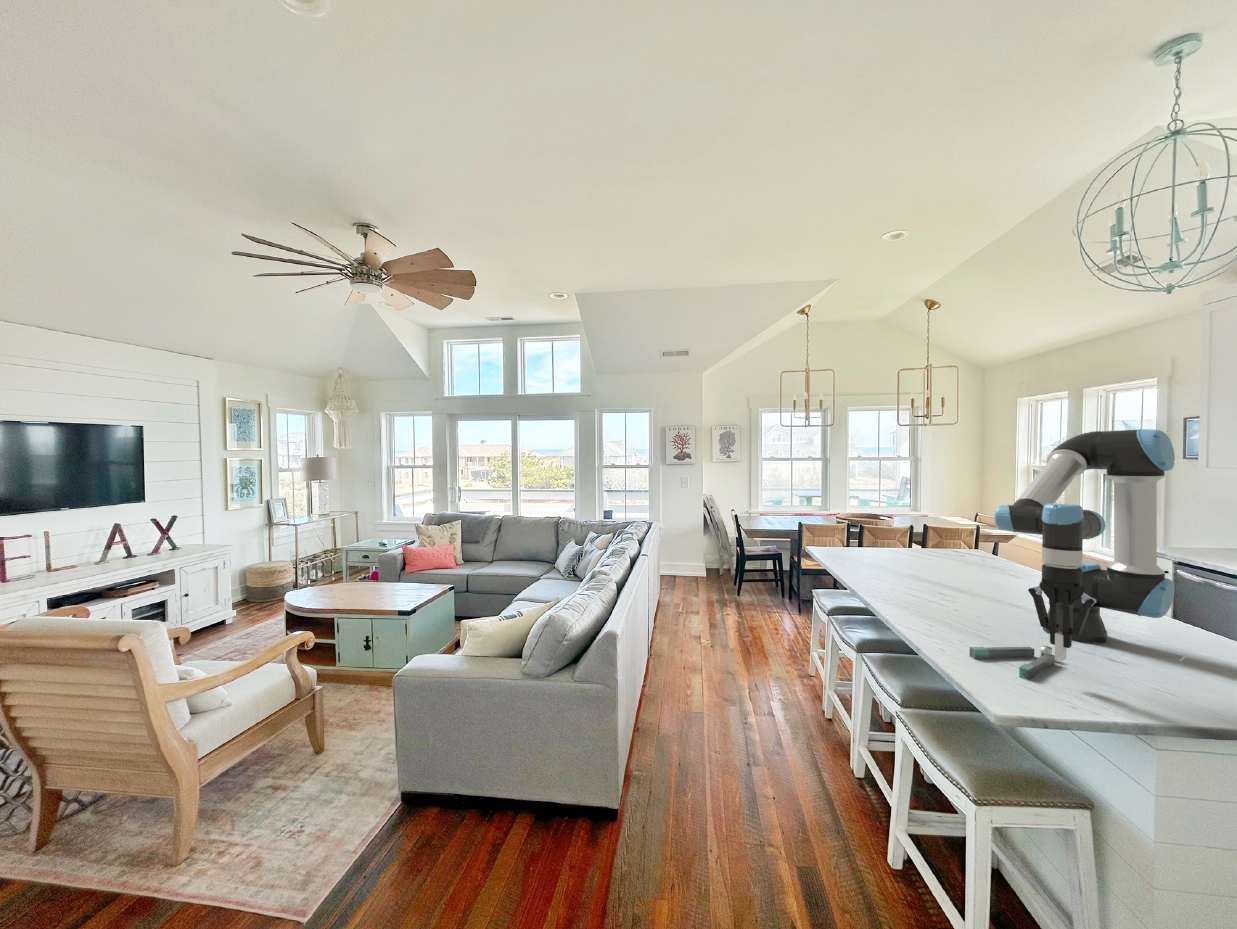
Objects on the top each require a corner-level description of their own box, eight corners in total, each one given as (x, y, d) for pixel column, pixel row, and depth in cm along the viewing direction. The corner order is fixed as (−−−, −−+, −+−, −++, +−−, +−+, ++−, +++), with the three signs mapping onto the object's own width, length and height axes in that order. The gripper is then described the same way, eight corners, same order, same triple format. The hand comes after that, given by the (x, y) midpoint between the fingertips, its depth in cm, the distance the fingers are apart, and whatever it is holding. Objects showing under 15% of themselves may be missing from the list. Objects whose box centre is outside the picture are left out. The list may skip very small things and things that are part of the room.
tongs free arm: (1045, 661, 135) (1045, 652, 134) (1054, 664, 133) (1054, 654, 133) (1019, 676, 125) (1019, 666, 125) (1028, 679, 124) (1028, 669, 124)
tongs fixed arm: (1042, 654, 139) (1042, 643, 139) (1054, 660, 135) (1054, 649, 135) (969, 656, 139) (969, 645, 139) (979, 661, 135) (979, 650, 135)
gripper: (1102, 568, 118) (1100, 665, 118) (1035, 559, 129) (1034, 647, 129) (1091, 572, 114) (1090, 671, 114) (1023, 562, 125) (1022, 653, 125)
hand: (1060, 658), depth 122 cm, fingers closed
